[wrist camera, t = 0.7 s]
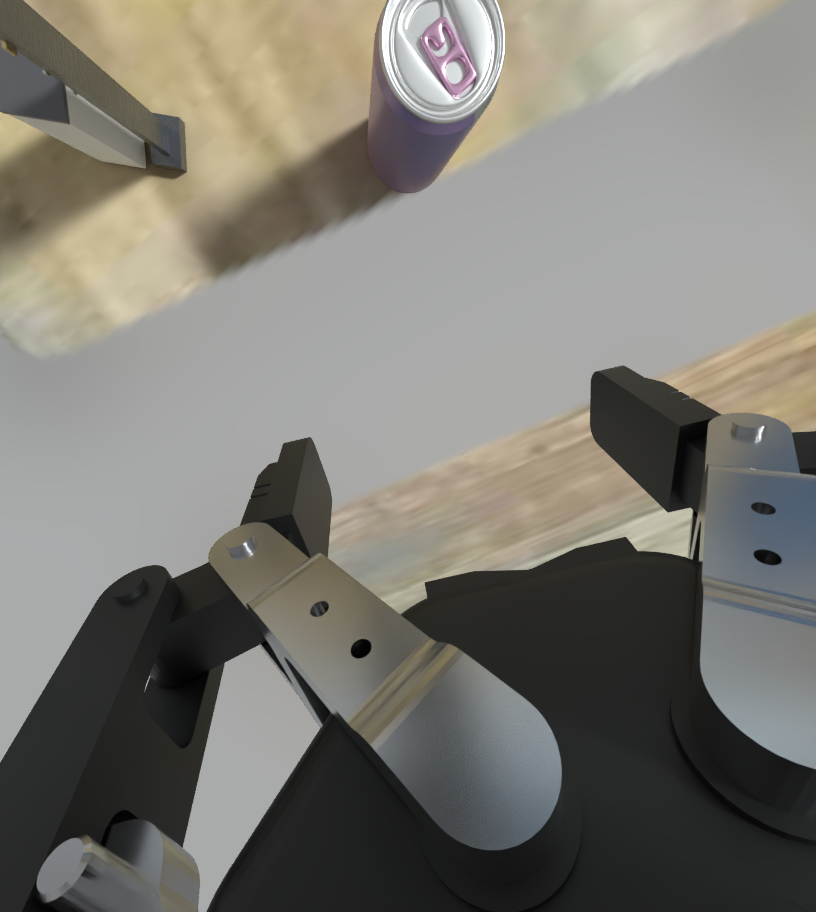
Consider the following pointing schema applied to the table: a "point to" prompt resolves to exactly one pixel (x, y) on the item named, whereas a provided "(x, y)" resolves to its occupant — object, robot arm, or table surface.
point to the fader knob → (64, 113)
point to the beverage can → (430, 84)
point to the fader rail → (90, 81)
